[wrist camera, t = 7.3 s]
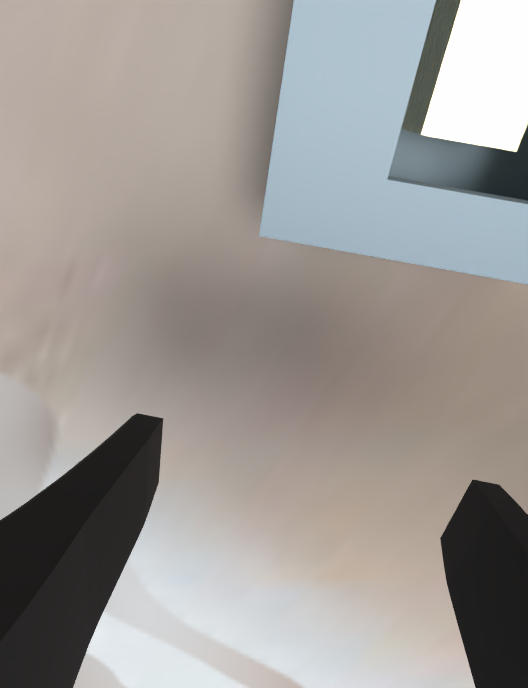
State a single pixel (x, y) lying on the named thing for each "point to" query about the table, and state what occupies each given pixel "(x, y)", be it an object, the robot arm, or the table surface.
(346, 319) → the table surface
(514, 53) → the tan rectangular block
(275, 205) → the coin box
